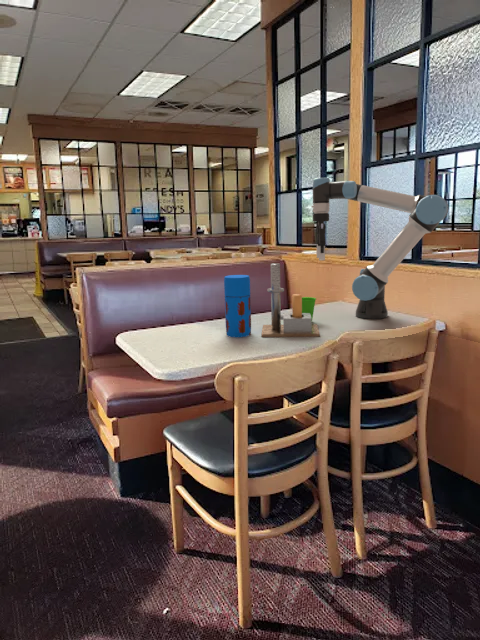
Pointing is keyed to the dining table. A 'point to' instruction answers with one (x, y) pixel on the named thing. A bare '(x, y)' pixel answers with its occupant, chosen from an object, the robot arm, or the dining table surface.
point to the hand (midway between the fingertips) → (320, 259)
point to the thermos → (237, 305)
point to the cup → (308, 305)
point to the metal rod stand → (286, 315)
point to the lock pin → (297, 305)
